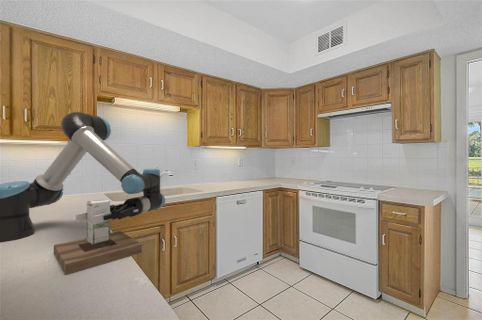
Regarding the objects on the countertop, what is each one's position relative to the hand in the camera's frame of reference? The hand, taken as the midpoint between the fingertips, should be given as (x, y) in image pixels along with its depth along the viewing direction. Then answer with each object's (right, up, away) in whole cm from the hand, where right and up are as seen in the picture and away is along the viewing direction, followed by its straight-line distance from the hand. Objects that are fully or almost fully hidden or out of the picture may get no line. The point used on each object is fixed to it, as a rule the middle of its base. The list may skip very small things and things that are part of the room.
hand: (85, 219), depth 78 cm
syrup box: (+2, -9, +5) cm, 10 cm away
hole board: (+1, -13, +5) cm, 14 cm away
